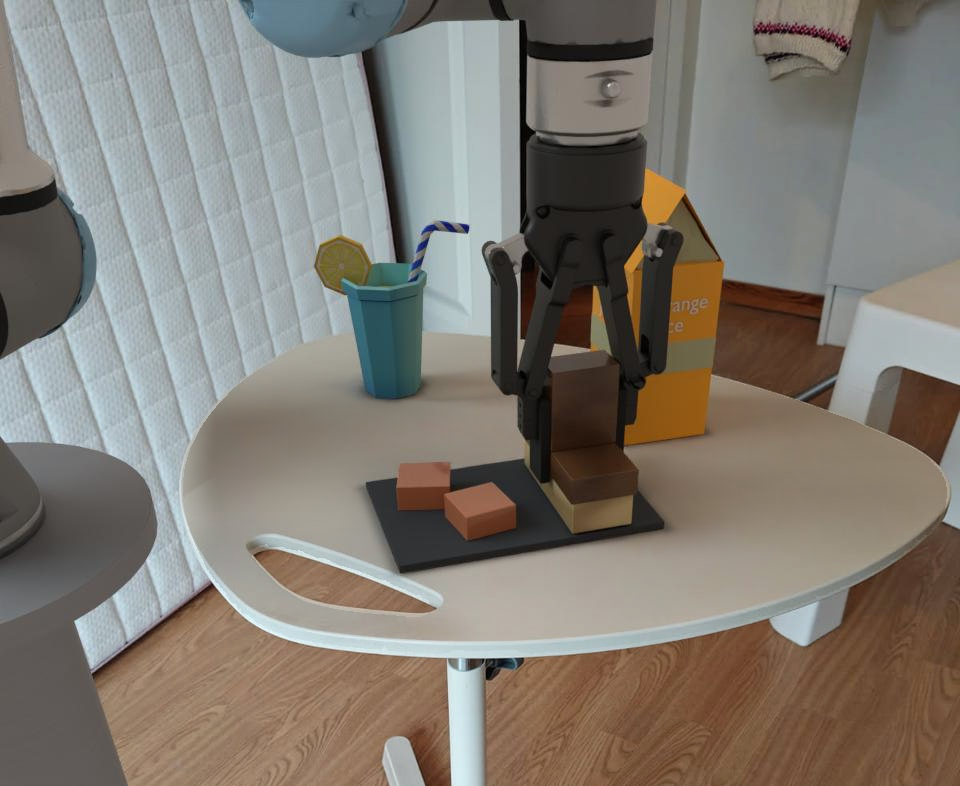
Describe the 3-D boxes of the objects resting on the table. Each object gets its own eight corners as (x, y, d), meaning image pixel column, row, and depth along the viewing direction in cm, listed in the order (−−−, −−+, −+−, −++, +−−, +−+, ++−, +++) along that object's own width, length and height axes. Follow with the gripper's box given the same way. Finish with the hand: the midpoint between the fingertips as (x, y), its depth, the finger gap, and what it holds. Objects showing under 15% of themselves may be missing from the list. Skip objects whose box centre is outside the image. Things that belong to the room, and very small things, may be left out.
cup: (466, 364, 101) (461, 206, 92) (481, 395, 95) (477, 229, 86) (326, 378, 99) (307, 218, 90) (332, 411, 93) (312, 242, 84)
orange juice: (665, 394, 94) (686, 161, 82) (706, 434, 87) (735, 186, 75) (585, 405, 93) (595, 169, 81) (620, 446, 86) (637, 195, 74)
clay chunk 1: (398, 510, 77) (396, 487, 76) (401, 485, 80) (399, 462, 79) (450, 509, 77) (449, 486, 76) (451, 484, 80) (450, 461, 79)
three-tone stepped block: (570, 536, 73) (574, 398, 67) (521, 463, 82) (520, 336, 76) (635, 525, 74) (645, 388, 68) (579, 454, 83) (583, 328, 77)
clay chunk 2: (467, 541, 73) (466, 517, 72) (444, 517, 76) (443, 493, 75) (516, 528, 74) (516, 504, 73) (492, 504, 77) (492, 481, 76)
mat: (399, 573, 71) (398, 566, 71) (366, 488, 81) (365, 481, 81) (664, 528, 75) (664, 521, 75) (601, 452, 85) (601, 446, 85)
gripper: (461, 156, 58) (473, 511, 72) (747, 131, 62) (706, 474, 76) (431, 132, 64) (448, 465, 78) (695, 111, 68) (665, 432, 82)
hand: (575, 468), depth 77 cm, fingers closed on three-tone stepped block, 5 cm apart
